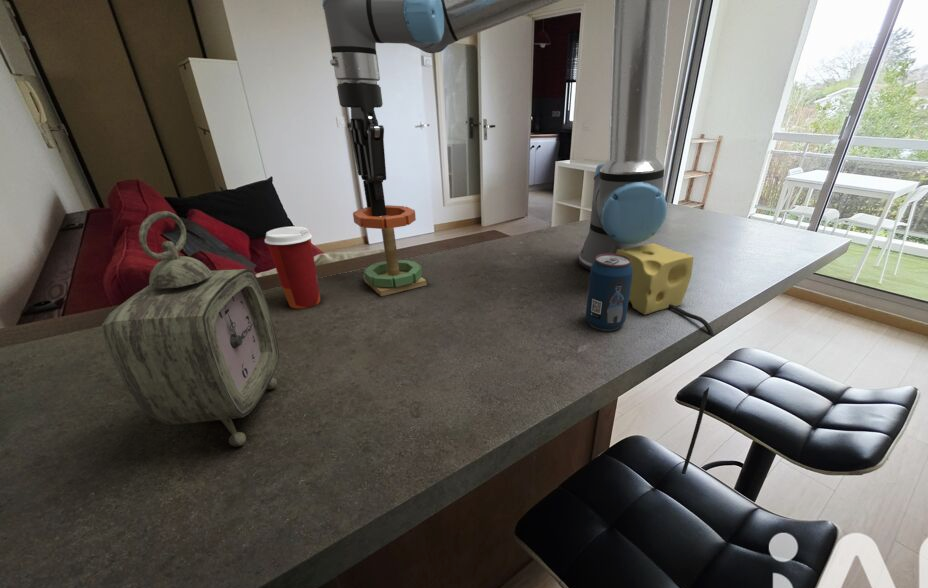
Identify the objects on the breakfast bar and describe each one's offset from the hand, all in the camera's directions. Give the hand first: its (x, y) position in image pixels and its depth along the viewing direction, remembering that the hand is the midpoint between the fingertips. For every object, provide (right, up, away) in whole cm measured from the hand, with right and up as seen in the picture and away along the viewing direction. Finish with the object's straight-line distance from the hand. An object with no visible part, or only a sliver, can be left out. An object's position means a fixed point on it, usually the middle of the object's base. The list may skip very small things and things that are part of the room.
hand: (377, 214), depth 86 cm
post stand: (+3, -14, +3) cm, 15 cm away
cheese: (+55, -18, -3) cm, 58 cm away
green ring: (+3, -13, +3) cm, 13 cm away
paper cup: (-12, -19, -5) cm, 23 cm away
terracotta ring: (+3, -2, -3) cm, 5 cm away
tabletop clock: (-6, -35, -34) cm, 49 cm away
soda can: (+44, -23, -12) cm, 51 cm away
